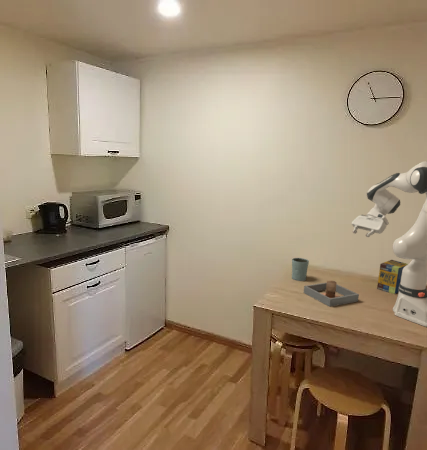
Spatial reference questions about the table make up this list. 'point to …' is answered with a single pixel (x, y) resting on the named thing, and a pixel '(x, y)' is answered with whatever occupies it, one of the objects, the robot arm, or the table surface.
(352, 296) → the shallow gray dish
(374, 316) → the table surface
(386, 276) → the protein box
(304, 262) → the teal cup
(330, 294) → the walnut post
